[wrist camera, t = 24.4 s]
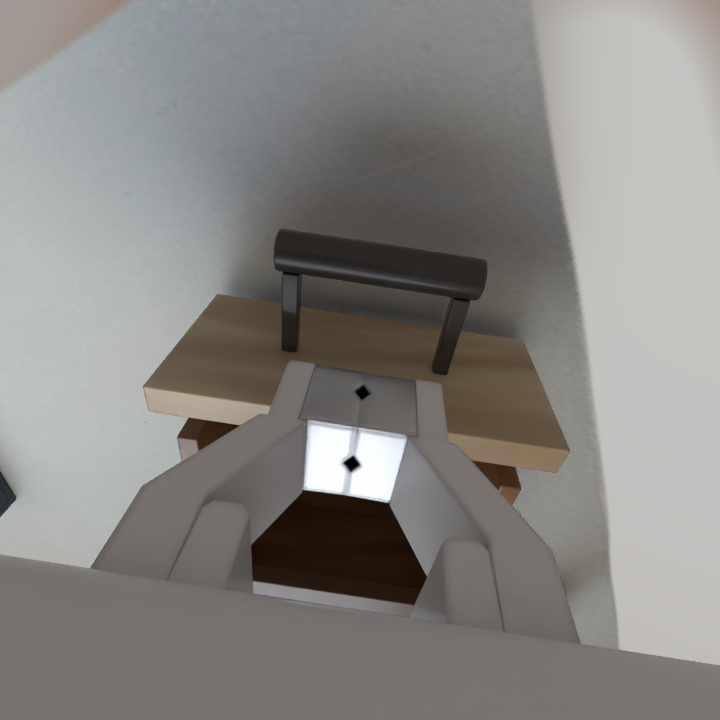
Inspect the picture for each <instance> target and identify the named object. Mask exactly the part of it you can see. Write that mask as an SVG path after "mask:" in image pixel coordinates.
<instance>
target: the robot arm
mask: <svg viewBox="0 0 720 720" xmlns="http://www.w3.org/2000/svg"><path fill="white" fill-rule="evenodd" d="M302 490H309V491H317V492H325V493H332V494H340V495H346V494H347V496H353V497H358V498H364V499H369V500H375V501H380V502H386V503H390V507H391V509H392V511H393V513H394V515H395V517H396V518H397V520H398V522H399V524H400V526H401V528H402V530H403V532H404V534H405V536H406V538H407V539H408V541H409V543H410V545H411V547H412V549H413V551H414V553H415V555H416V557H417V559H418V561H419V562H420V564H421V566H422V568H423V570H424V572H425V574H426V576H427V578H426V580H425V583H424V585H423V587H422V589H421V591H420V594H419V596H418V598H417V600H416V603H415V605H414V607H413V609H412V611H411V614H410V616H409V617H403V616H396V615H390V614H383V613H377V612H370V611H364V610H357V609H351V608H344V607H338V606H331V605H325V604H318V603H312V602H305V601H299V600H292V599H286V598H279V597H273V596H266V595H260V594H253V576H252V555H251V545H252V544H253V543H254V542H255V541H256V539H257V538H258V537H259V536H260V535H261V534H262V533H263V532H264V531H265V530H266V529H267V528H268V527H269V526H270V525H271V524H272V523H273V522H274V521H275V520H276V519H277V518H278V517H279V516H280V515H281V514H282V513H283V512H284V511H285V510H286V509H287V508H288V506H289V505H290V504H291V503H292V502H293V501H294V500H295V499H296V498H297V497H298V496H299V495H300V494H301V493H302ZM0 720H720V665H713V664H707V663H701V662H694V661H688V660H681V659H674V658H668V657H662V656H655V655H648V654H642V653H636V652H629V651H622V650H616V649H610V648H603V647H597V646H590V645H584V644H581V643H580V640H579V637H578V633H577V630H576V627H575V624H574V620H573V617H572V614H571V610H570V607H569V604H568V601H567V597H566V594H565V591H564V587H563V584H562V581H561V578H560V574H559V571H558V568H557V564H556V561H555V558H554V555H553V551H552V550H551V549H550V547H549V546H548V545H547V544H546V543H545V542H544V541H543V540H542V539H541V537H540V536H539V535H538V534H537V533H536V532H535V531H534V530H533V529H532V527H531V526H530V525H529V524H528V523H527V522H526V521H525V520H524V519H523V517H522V516H521V515H520V514H519V513H518V512H517V511H516V510H515V509H514V507H513V506H512V505H511V504H510V503H509V502H508V501H507V500H506V498H505V497H504V496H503V495H502V494H501V493H500V492H499V491H498V490H497V488H496V487H495V486H494V485H493V484H492V483H491V482H490V481H489V480H488V478H487V477H486V476H485V475H484V474H483V473H482V472H481V471H480V470H479V468H478V467H477V466H476V465H475V464H474V463H473V462H472V461H471V460H470V458H469V457H468V456H467V455H466V454H465V453H464V452H463V451H462V450H461V448H460V447H459V446H458V445H457V444H454V443H449V441H448V433H447V425H446V417H445V409H444V401H443V393H442V386H441V384H440V383H439V382H431V381H423V380H416V379H415V380H410V379H403V378H396V377H390V376H383V375H376V374H370V373H365V372H360V371H354V370H349V369H343V368H338V367H332V366H326V365H321V364H314V363H308V362H302V361H296V360H291V361H290V362H289V363H288V364H287V367H286V369H285V372H284V374H283V377H282V379H281V382H280V384H279V387H278V389H277V392H276V394H275V397H274V399H273V402H272V404H271V407H270V409H269V412H268V415H267V414H258V415H256V416H255V417H253V418H251V419H250V420H248V421H247V422H245V423H243V424H242V425H240V426H239V427H237V428H235V429H234V430H232V431H230V432H229V433H227V434H226V435H224V436H222V437H221V438H219V439H217V440H216V441H214V442H213V443H211V444H209V445H208V446H206V447H205V448H203V449H201V450H200V451H198V452H196V453H195V454H193V455H192V456H190V457H188V458H187V459H185V460H183V461H182V462H180V463H179V464H177V465H175V466H174V467H172V468H171V469H169V470H167V471H166V472H164V473H162V474H161V475H159V476H158V477H156V478H154V479H153V480H151V481H150V482H148V483H146V484H145V485H143V486H142V487H141V489H140V490H139V492H138V493H137V495H136V497H135V498H134V500H133V501H132V503H131V504H130V506H129V508H128V509H127V511H126V512H125V514H124V515H123V517H122V519H121V520H120V522H119V523H118V525H117V527H116V528H115V530H114V531H113V533H112V534H111V536H110V538H109V539H108V541H107V542H106V544H105V545H104V547H103V549H102V550H101V552H100V553H99V555H98V557H97V558H96V560H95V561H94V563H93V564H92V566H91V568H84V567H77V566H71V565H64V564H58V563H51V562H45V561H38V560H32V559H25V558H19V557H12V556H6V555H0Z"/></svg>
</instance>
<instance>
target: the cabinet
mask: <svg viewBox="0 0 720 720" xmlns="http://www.w3.org/2000/svg"><path fill="white" fill-rule="evenodd" d="M252 576H253V594H260V595H266V596H273V597H279V598H286V599H292V600H299V601H305V602H312V603H318V604H325V605H331V606H338V607H344V608H351V609H357V610H364V611H370V612H377V613H383V614H390V615H396V616H403V617H409V616H410V614H411V611H412V609H413V607H414V605H415V603H416V600H417V598H418V596H419V594H420V591H421V589H417V588H410V587H404V586H397V585H390V584H384V583H377V582H371V581H364V580H357V579H351V578H344V577H337V576H331V575H324V574H317V573H311V572H304V571H298V570H291V569H284V568H278V567H271V566H264V565H258V564H252Z"/></svg>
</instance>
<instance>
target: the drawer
mask: <svg viewBox="0 0 720 720" xmlns="http://www.w3.org/2000/svg"><path fill="white" fill-rule="evenodd" d="M274 265H275V269H276V270H278V271H283V274H282V304H280V303H274V302H267V301H260V300H254V299H247V298H241V297H234V296H227V295H221V294H217V295H216V297H215V298H214V299H213V300H212V301H211V303H210V304H209V305H208V306H207V308H206V309H205V310H204V311H203V313H202V314H201V315H200V316H199V318H198V319H197V320H196V321H195V322H194V324H193V325H192V326H191V327H190V329H189V330H188V331H187V332H186V334H185V335H184V336H183V337H182V339H181V340H180V341H179V342H178V343H177V345H176V346H175V347H174V348H173V350H172V351H171V352H170V353H169V355H168V356H167V357H166V358H165V360H164V361H163V362H162V363H161V364H160V366H159V367H158V368H157V369H156V371H155V372H154V373H153V374H152V376H151V377H150V378H149V379H148V381H147V382H146V383H145V384H144V386H143V389H144V393H145V397H146V401H147V405H148V409H149V411H150V412H155V413H162V414H169V415H175V416H182V417H188V420H187V421H186V423H185V425H184V426H183V428H182V430H181V431H180V433H179V435H178V436H177V439H178V444H179V449H180V454H181V459H182V461H183V460H185V459H187V458H188V457H190V456H192V455H193V454H195V453H196V452H198V451H200V450H201V449H203V448H205V447H206V446H208V445H209V444H211V443H213V442H214V441H216V440H217V439H219V438H221V437H222V436H224V435H226V434H227V433H229V432H230V431H232V430H234V429H235V428H237V427H239V426H240V425H242V424H243V423H245V422H247V421H248V420H250V419H251V418H253V417H255V416H256V415H258V414H267V415H268V412H269V409H270V407H271V404H272V402H273V399H274V397H275V394H276V392H277V389H278V387H279V384H280V382H281V379H282V377H283V374H284V372H285V369H286V367H287V364H288V363H289V362H290V361H291V360H296V361H302V362H308V363H314V364H321V365H326V366H332V367H338V368H343V369H349V370H354V371H360V372H365V373H370V374H376V375H383V376H390V377H396V378H403V379H410V380H415V379H416V380H423V381H431V382H439V383H440V384H441V386H442V393H443V401H444V409H445V417H446V425H447V433H448V441H449V443H454V444H457V445H458V446H459V447H460V448H461V450H462V451H463V452H464V453H465V454H466V455H467V456H468V457H469V458H470V460H471V461H472V462H473V463H474V464H475V465H476V466H477V467H478V468H479V470H480V471H481V472H482V473H483V474H484V475H485V476H486V477H487V478H488V480H489V481H490V482H491V483H492V484H493V485H494V486H495V487H496V488H497V490H498V491H499V492H500V493H501V494H502V495H503V496H504V497H505V498H506V500H507V501H508V502H509V503H510V504H511V505H512V504H513V503H514V501H515V499H516V497H517V496H518V494H519V492H520V491H521V485H520V482H519V478H518V475H517V471H516V467H519V468H526V469H533V470H539V471H546V472H552V473H556V472H557V471H558V470H559V468H560V466H561V465H562V463H563V462H564V460H565V458H566V457H567V455H568V454H569V452H570V449H569V447H568V444H567V442H566V440H565V437H564V435H563V433H562V430H561V428H560V426H559V423H558V421H557V419H556V416H555V414H554V411H553V409H552V407H551V404H550V402H549V400H548V397H547V395H546V393H545V390H544V388H543V386H542V383H541V381H540V379H539V376H538V374H537V372H536V369H535V367H534V365H533V362H532V360H531V358H530V355H529V353H528V351H527V348H526V346H525V344H524V341H523V340H518V339H511V338H505V337H498V336H491V335H485V334H478V333H472V332H465V331H461V329H462V326H463V323H464V320H465V317H466V314H467V311H468V307H469V304H470V300H474V301H476V300H478V299H479V298H480V297H481V295H482V293H483V290H484V287H485V284H486V279H487V270H488V269H487V262H486V260H484V259H478V258H472V257H465V256H459V255H452V254H445V253H439V252H432V251H426V250H419V249H412V248H406V247H399V246H393V245H386V244H379V243H373V242H366V241H360V240H353V239H346V238H340V237H333V236H327V235H320V234H314V233H307V232H300V231H294V230H287V229H280V230H279V231H278V233H277V236H276V240H275V245H274ZM302 274H303V275H309V276H316V277H322V278H329V279H336V280H342V281H349V282H355V283H362V284H369V285H375V286H382V287H388V288H395V289H402V290H408V291H415V292H421V293H428V294H434V295H441V296H448V297H451V299H450V302H449V306H448V309H447V313H446V316H445V320H444V323H443V327H442V328H439V327H432V326H425V325H419V324H412V323H406V322H399V321H392V320H386V319H379V318H373V317H366V316H359V315H353V314H346V313H340V312H333V311H326V310H320V309H313V308H307V307H301V284H302ZM251 555H252V564H258V565H264V566H271V567H278V568H284V569H291V570H298V571H304V572H311V573H317V574H324V575H331V576H337V577H344V578H351V579H357V580H364V581H371V582H377V583H384V584H390V585H397V586H404V587H410V588H417V589H422V587H423V585H424V583H425V580H426V578H427V576H426V574H425V572H424V570H423V568H422V566H421V564H420V562H419V561H418V559H417V557H416V555H415V553H414V551H413V549H412V547H411V545H410V543H409V541H408V539H407V538H406V536H405V534H404V532H403V530H402V528H401V526H400V524H399V522H398V520H397V518H396V517H395V515H394V513H393V511H392V509H391V507H390V503H386V502H380V501H375V500H369V499H364V498H358V497H353V496H347V494H346V495H340V494H332V493H325V492H317V491H309V490H302V493H301V494H300V495H299V496H298V497H297V498H296V499H295V500H294V501H293V502H292V503H291V504H290V505H289V506H288V508H287V509H286V510H285V511H284V512H283V513H282V514H281V515H280V516H279V517H278V518H277V519H276V520H275V521H274V522H273V523H272V524H271V525H270V526H269V527H268V528H267V529H266V530H265V531H264V532H263V533H262V534H261V535H260V536H259V537H258V538H257V539H256V541H255V542H254V543H253V544H252V545H251Z"/></svg>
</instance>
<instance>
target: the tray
mask: <svg viewBox="0 0 720 720" xmlns="http://www.w3.org/2000/svg"><path fill="white" fill-rule="evenodd" d="M15 500H16V498H15V496H14V495H13V493H12V491H11V490H10V488H9V487H8V485H7V483H6V482H5V480H4V478H3V477H2V475H1V474H0V517H1V516H2V515H3V513H4V512H5V511H6V510H7V509H8V508H9V507H10V506H11V504H12V503H13V502H14V501H15Z"/></svg>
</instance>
